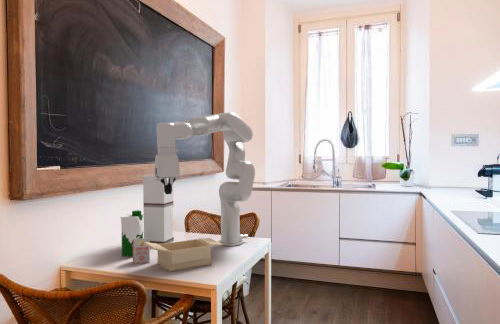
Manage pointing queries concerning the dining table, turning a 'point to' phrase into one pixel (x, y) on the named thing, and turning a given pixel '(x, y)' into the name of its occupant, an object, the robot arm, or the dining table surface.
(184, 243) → the carton
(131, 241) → the milk carton
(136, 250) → the white red printed box
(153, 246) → the flap
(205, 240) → the flap
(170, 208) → the white banded tower
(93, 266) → the dining table surface
